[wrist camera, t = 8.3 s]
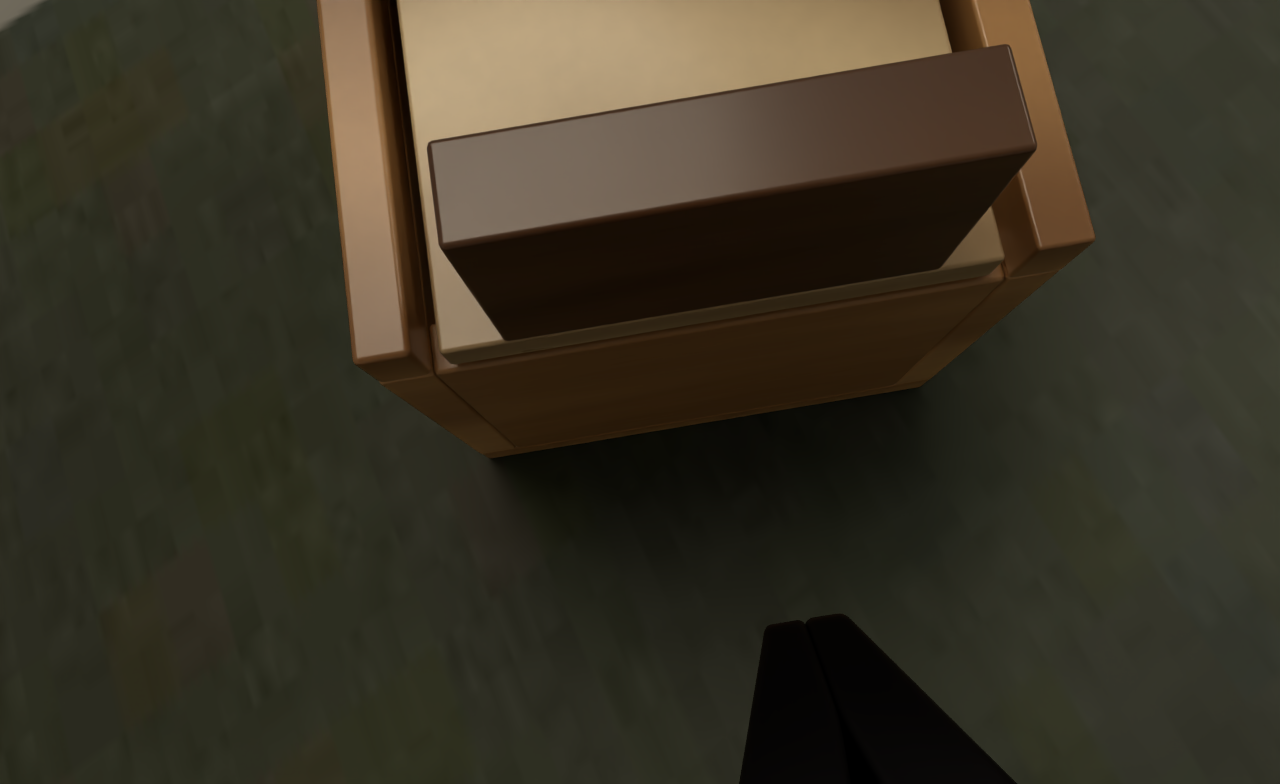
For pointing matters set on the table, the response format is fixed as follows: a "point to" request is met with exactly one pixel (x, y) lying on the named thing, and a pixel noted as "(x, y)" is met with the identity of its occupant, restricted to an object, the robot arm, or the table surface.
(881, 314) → the box
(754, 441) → the table surface
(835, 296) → the lid
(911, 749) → the robot arm
